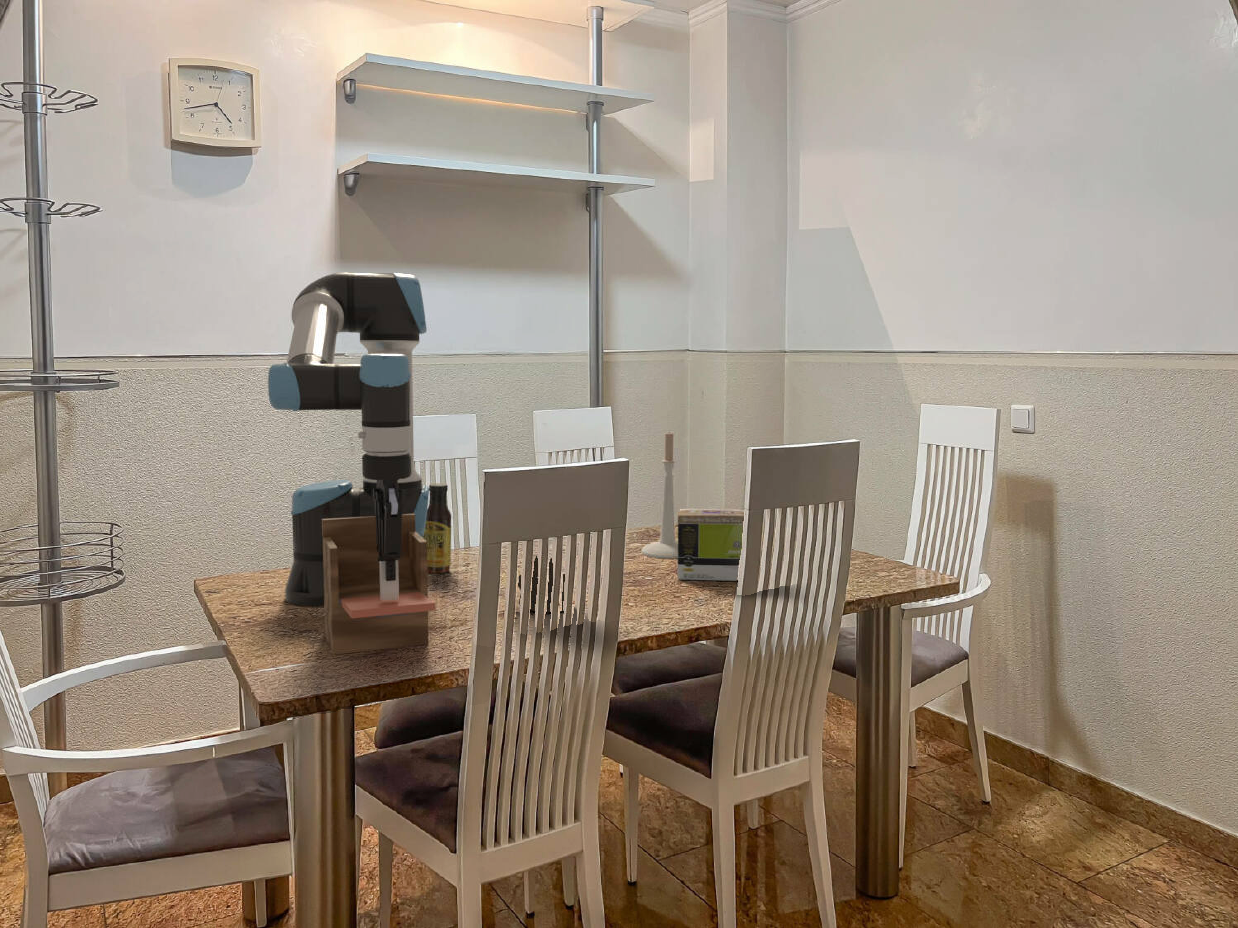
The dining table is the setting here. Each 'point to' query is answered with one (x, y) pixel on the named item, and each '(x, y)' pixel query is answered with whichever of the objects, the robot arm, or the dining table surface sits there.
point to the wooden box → (370, 585)
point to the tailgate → (387, 605)
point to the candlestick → (666, 511)
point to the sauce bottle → (438, 530)
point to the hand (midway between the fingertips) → (389, 598)
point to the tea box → (709, 543)
